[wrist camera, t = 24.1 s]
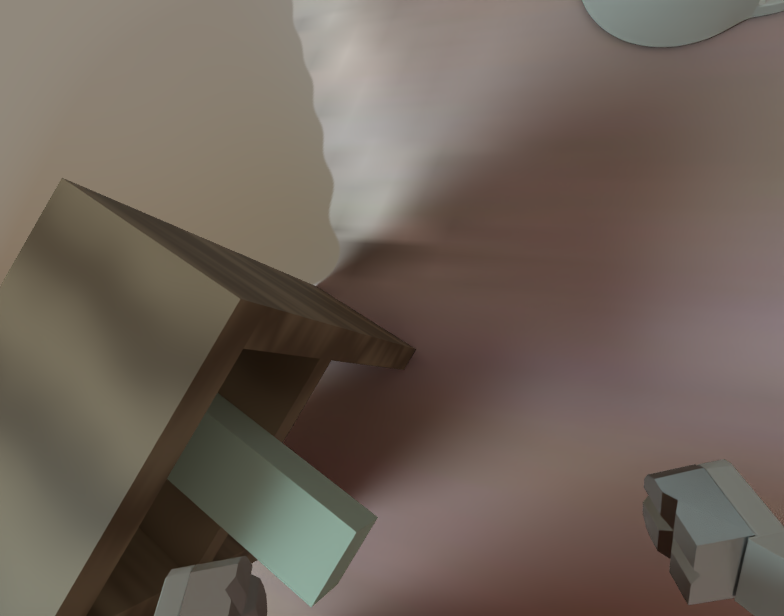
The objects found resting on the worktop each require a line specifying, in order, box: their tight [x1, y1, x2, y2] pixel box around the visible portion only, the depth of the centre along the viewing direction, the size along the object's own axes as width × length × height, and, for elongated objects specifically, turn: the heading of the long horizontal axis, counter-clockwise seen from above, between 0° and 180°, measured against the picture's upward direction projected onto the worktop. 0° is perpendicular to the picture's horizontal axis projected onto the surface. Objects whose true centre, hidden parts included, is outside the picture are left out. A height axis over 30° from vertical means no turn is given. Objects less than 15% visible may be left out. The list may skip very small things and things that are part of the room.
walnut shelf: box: [0, 178, 416, 616], centre depth 34 cm, size 18×11×26 cm, turn 148°
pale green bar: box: [167, 393, 378, 607], centre depth 29 cm, size 4×19×3 cm, turn 58°
